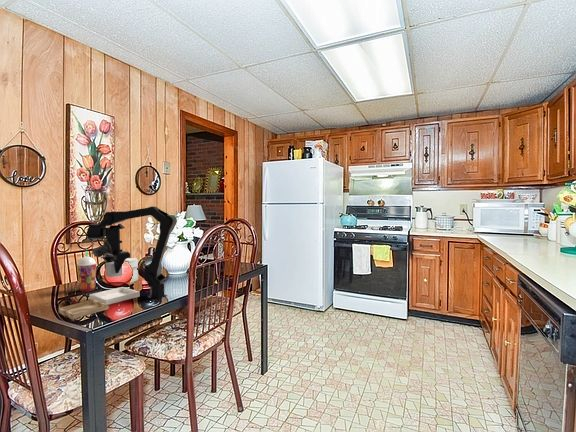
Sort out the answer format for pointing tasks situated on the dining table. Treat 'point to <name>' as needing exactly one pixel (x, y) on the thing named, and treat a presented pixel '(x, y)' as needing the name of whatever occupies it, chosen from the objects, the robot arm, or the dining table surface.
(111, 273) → the stone block
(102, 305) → the oak tray
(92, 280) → the smoothie
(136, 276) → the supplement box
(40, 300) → the dining table surface
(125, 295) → the bin
